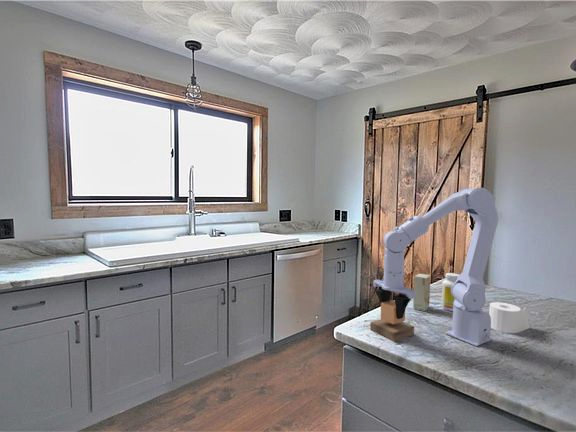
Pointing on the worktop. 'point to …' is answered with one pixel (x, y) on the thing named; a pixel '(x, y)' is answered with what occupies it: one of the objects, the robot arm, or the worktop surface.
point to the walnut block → (392, 329)
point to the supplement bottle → (448, 291)
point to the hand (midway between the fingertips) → (392, 315)
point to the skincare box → (421, 292)
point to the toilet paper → (508, 318)
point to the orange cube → (390, 312)
